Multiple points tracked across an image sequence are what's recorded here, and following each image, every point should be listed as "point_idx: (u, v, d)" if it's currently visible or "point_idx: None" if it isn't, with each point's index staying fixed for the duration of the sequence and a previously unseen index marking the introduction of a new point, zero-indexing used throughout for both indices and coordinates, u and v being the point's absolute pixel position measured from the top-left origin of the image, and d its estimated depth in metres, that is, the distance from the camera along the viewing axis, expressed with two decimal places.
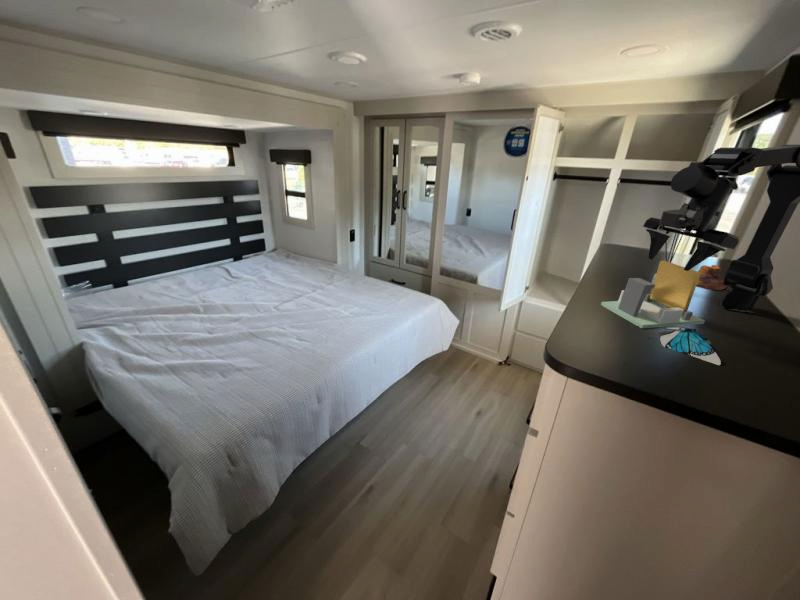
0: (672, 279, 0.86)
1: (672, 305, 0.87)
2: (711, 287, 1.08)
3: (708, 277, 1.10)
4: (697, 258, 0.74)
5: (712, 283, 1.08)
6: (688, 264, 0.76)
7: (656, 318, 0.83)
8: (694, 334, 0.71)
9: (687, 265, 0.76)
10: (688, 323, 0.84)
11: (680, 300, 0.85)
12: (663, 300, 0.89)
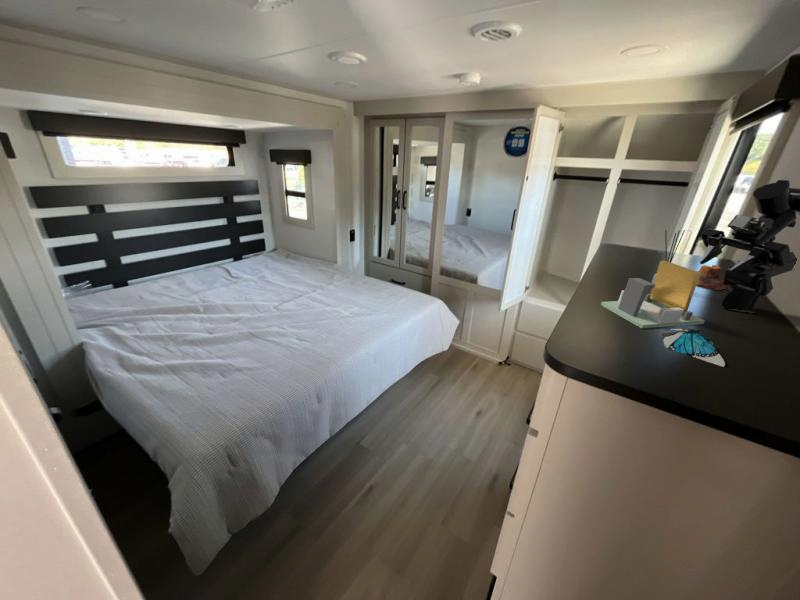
0: (672, 279, 0.86)
1: (672, 305, 0.87)
2: (712, 287, 1.08)
3: (708, 277, 1.10)
4: (745, 263, 0.82)
5: (712, 283, 1.08)
6: (735, 266, 0.82)
7: (656, 318, 0.83)
8: (697, 335, 0.71)
9: (734, 267, 0.83)
10: (688, 323, 0.84)
11: (680, 300, 0.85)
12: (663, 300, 0.89)
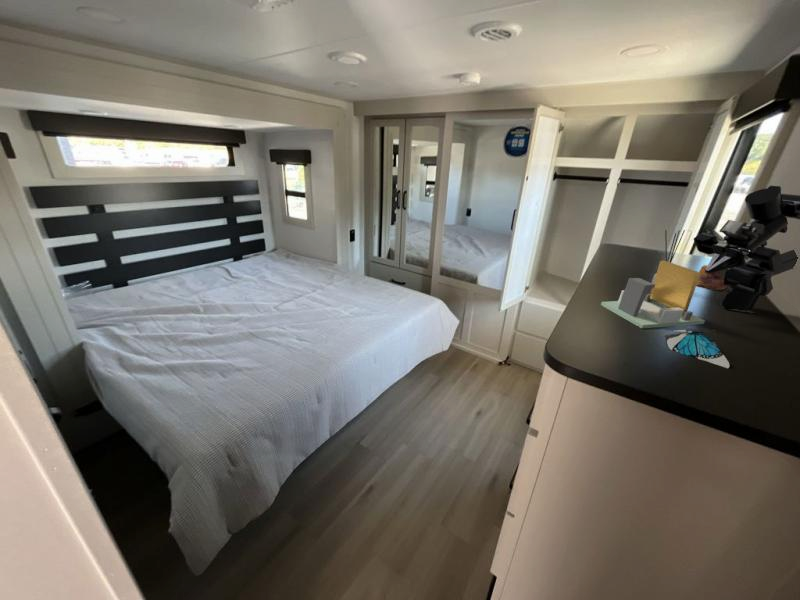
0: (672, 279, 0.86)
1: (672, 305, 0.87)
2: (712, 287, 1.08)
3: (709, 277, 1.10)
4: (722, 264, 0.85)
5: (713, 283, 1.08)
6: (712, 267, 0.86)
7: (656, 318, 0.83)
8: (701, 336, 0.70)
9: (711, 267, 0.86)
10: (688, 323, 0.84)
11: (680, 300, 0.85)
12: (663, 300, 0.89)
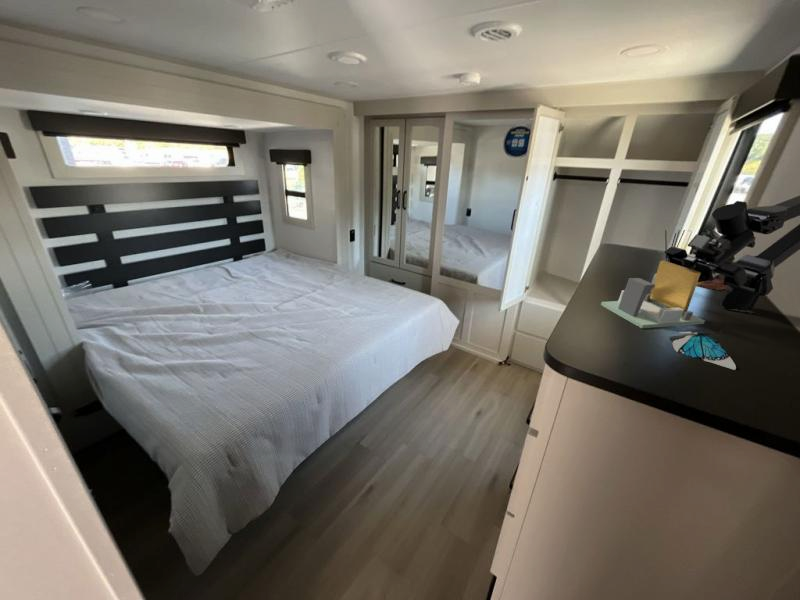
0: (672, 279, 0.86)
1: (672, 305, 0.87)
2: (712, 287, 1.08)
3: None
4: None
5: (713, 283, 1.08)
6: None
7: (656, 318, 0.83)
8: (707, 338, 0.70)
9: None
10: (688, 323, 0.84)
11: (680, 300, 0.85)
12: (663, 300, 0.89)
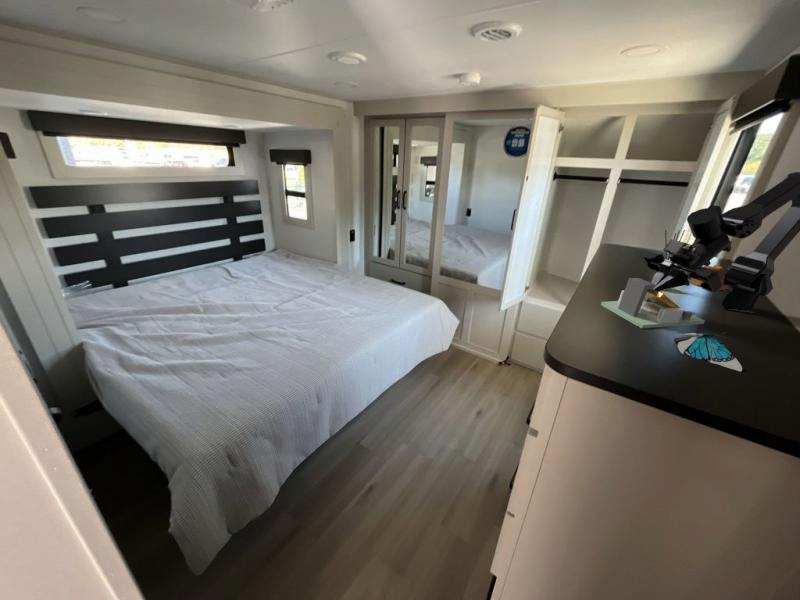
0: (649, 295, 0.87)
1: None
2: None
3: None
4: (666, 283, 0.84)
5: None
6: (657, 286, 0.85)
7: (656, 318, 0.83)
8: (712, 339, 0.69)
9: (656, 286, 0.85)
10: (688, 323, 0.84)
11: None
12: (659, 304, 0.90)
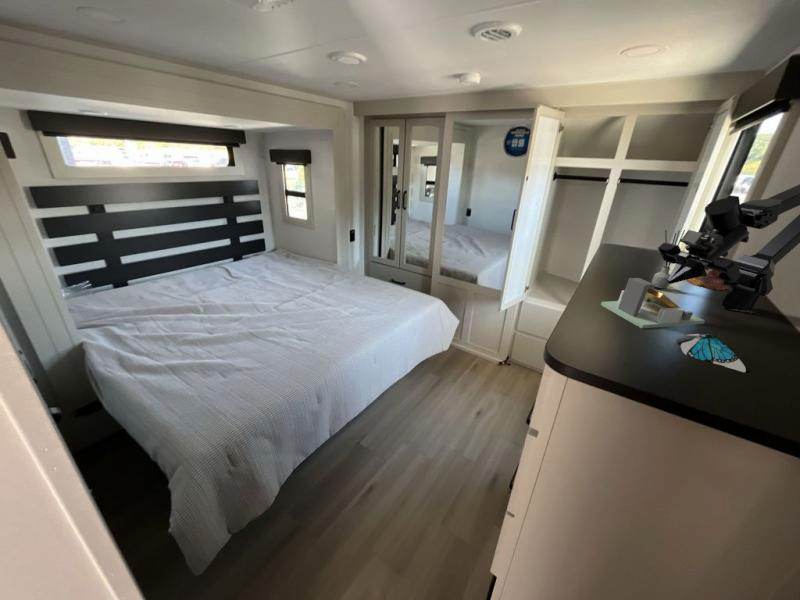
0: (648, 295, 0.87)
1: None
2: (713, 287, 1.08)
3: (710, 277, 1.10)
4: (683, 274, 0.84)
5: (714, 283, 1.08)
6: (674, 277, 0.85)
7: (656, 318, 0.83)
8: (715, 340, 0.69)
9: (673, 278, 0.85)
10: (688, 323, 0.84)
11: None
12: (659, 304, 0.90)
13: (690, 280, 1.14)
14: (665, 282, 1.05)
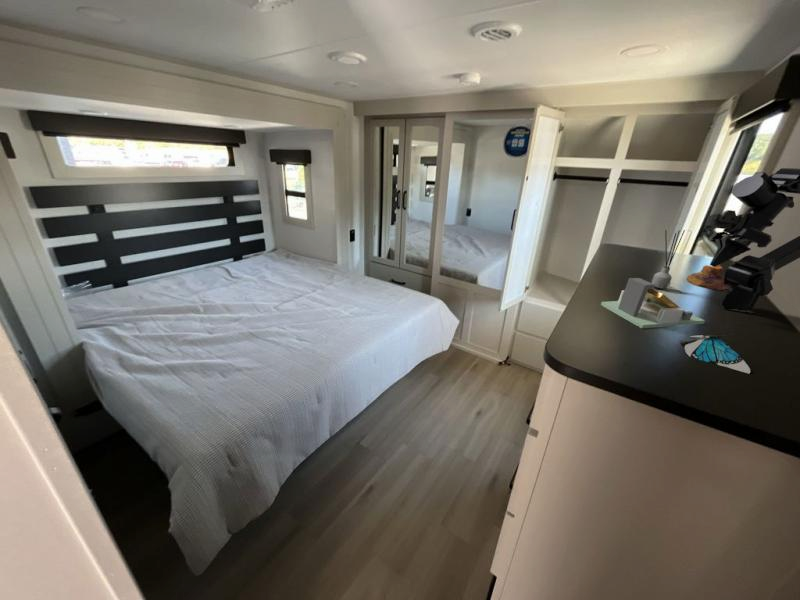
0: (648, 295, 0.87)
1: None
2: (714, 287, 1.08)
3: (710, 277, 1.10)
4: (722, 254, 0.86)
5: None
6: (714, 259, 0.87)
7: (656, 318, 0.83)
8: (719, 341, 0.69)
9: (713, 260, 0.88)
10: (688, 323, 0.84)
11: None
12: (659, 304, 0.90)
13: (690, 280, 1.14)
14: (665, 282, 1.05)
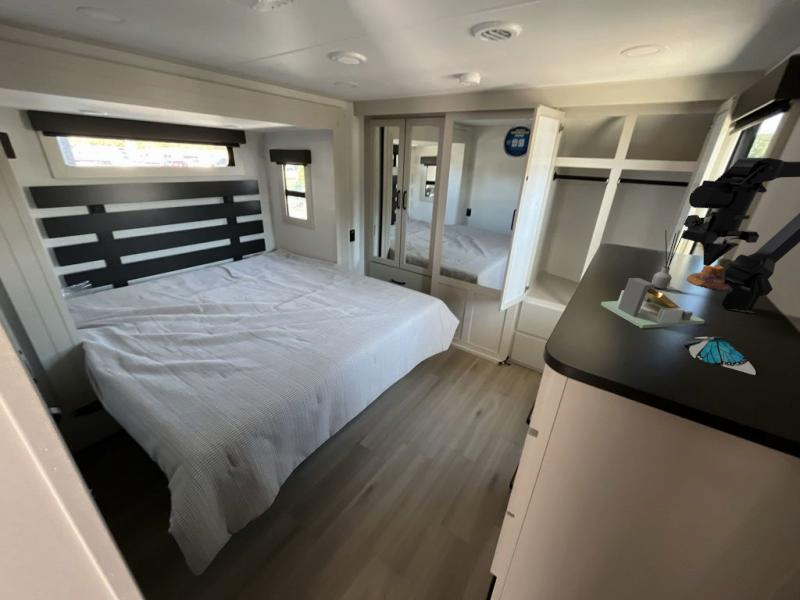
0: (648, 295, 0.87)
1: None
2: (714, 287, 1.08)
3: (711, 277, 1.10)
4: (706, 253, 0.89)
5: (715, 283, 1.08)
6: None
7: (656, 318, 0.83)
8: (724, 343, 0.68)
9: None
10: (688, 323, 0.84)
11: None
12: (659, 304, 0.90)
13: (691, 280, 1.14)
14: (665, 282, 1.05)
